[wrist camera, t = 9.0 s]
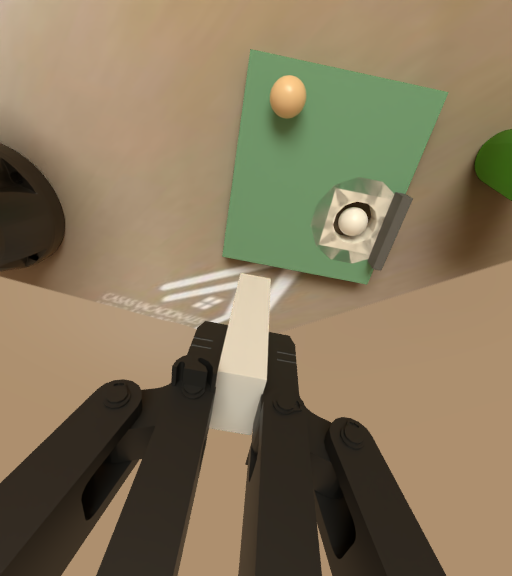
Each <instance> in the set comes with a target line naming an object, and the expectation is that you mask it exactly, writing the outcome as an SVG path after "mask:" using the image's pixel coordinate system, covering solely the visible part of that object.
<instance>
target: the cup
mask: <svg viewBox="0 0 512 576" xmlns="http://www.w3.org/2000/svg"><path fill="white" fill-rule="evenodd" d="M475 171H476V174H477V176H478V178H479V179H480V180H481V181H482V182H484V183H485V184H487V185H488V186H490V187H491V188H493V189H494V190H496V191H497V192H499V193H500V194H502V195H503V196H505V197H506V198H508V199H509V200H511V201H512V129H510V130H505V131H502V132H500V133H498V134H496V135H495V136H493V137H492V138H490V139H489V140H488V141H487V142H486V143H485V144H484V145H483V146H482V147H481V149H480V150H479V152H478V154H477V156H476V160H475Z"/></svg>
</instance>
